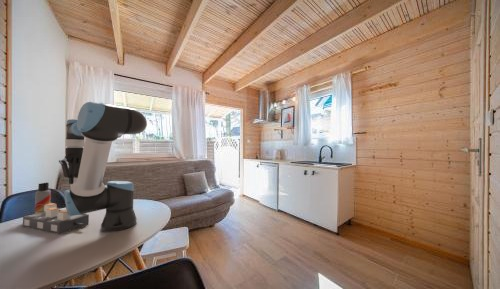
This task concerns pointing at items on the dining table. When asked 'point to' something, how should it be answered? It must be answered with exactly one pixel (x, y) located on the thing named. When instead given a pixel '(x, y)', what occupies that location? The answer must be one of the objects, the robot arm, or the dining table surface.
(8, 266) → the dining table surface
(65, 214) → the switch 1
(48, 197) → the lotion bottle
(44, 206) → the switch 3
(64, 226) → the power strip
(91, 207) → the robot arm
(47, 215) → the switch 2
